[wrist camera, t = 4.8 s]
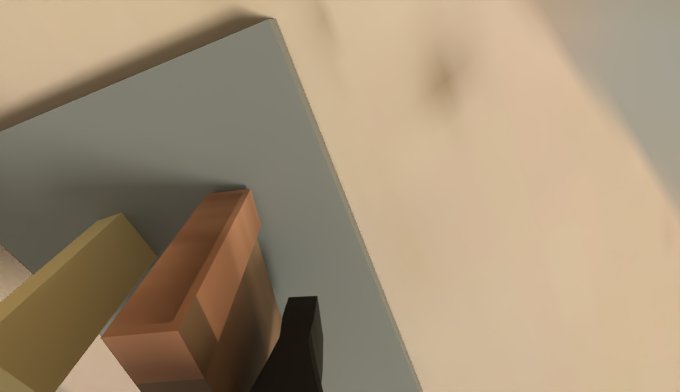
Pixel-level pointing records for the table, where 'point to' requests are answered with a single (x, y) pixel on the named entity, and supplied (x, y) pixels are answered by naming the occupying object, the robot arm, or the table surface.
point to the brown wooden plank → (202, 306)
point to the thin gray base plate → (183, 209)
